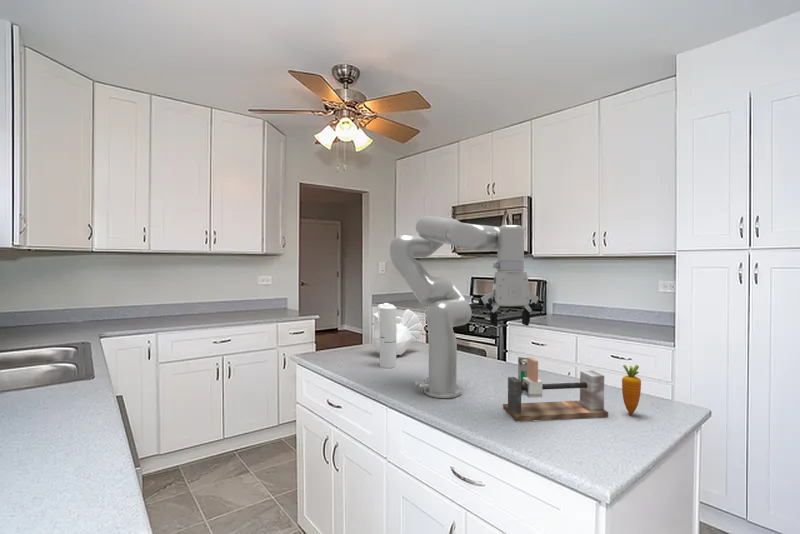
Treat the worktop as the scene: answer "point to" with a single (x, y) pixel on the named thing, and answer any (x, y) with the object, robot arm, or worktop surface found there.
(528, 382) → the sleeve
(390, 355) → the cylindrical container
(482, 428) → the worktop surface
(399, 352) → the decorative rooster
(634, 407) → the carrot
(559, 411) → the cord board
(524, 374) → the food container
